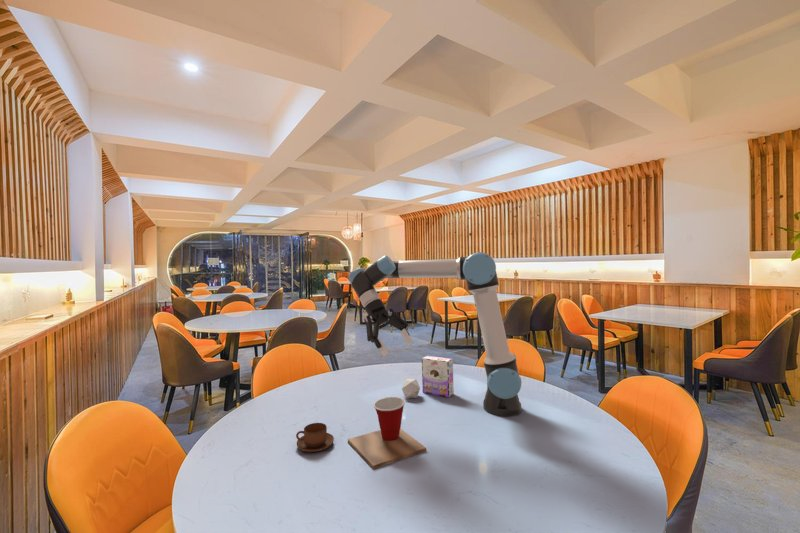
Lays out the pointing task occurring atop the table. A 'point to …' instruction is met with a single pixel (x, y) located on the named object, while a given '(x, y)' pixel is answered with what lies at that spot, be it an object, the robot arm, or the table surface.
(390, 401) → the plastic cup
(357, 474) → the table surface
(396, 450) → the walnut board
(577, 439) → the table surface
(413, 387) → the die
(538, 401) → the table surface
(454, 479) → the table surface
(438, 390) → the candy box
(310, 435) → the cup and saucer
